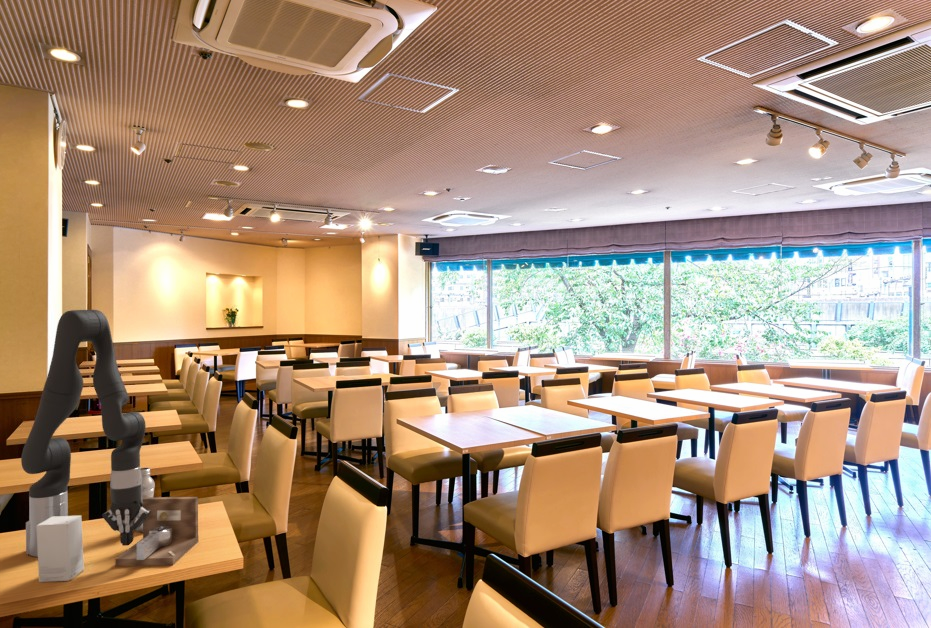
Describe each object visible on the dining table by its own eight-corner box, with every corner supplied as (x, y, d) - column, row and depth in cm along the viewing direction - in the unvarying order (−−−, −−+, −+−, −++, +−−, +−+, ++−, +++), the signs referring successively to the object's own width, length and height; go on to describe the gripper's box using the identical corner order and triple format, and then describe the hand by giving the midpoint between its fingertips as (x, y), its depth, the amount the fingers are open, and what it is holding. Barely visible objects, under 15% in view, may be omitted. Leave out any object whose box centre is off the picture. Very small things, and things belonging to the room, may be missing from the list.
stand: (115, 565, 158) (115, 516, 157) (146, 542, 174) (145, 497, 173) (173, 565, 158) (172, 515, 158) (198, 541, 174) (198, 496, 174)
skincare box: (84, 570, 155) (84, 514, 155) (68, 582, 148) (67, 523, 148) (53, 571, 154) (53, 515, 154) (35, 583, 148) (35, 524, 148)
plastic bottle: (145, 534, 180) (145, 472, 179) (127, 532, 181) (127, 471, 181) (160, 526, 186) (159, 466, 186) (142, 525, 187) (142, 465, 187)
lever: (155, 539, 170) (155, 522, 170) (175, 539, 170) (175, 522, 170) (129, 560, 156) (129, 542, 156) (151, 559, 156) (151, 541, 156)
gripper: (94, 488, 155) (95, 550, 155) (142, 487, 156) (143, 549, 156) (110, 480, 163) (111, 539, 163) (156, 479, 163) (157, 538, 163)
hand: (127, 544), depth 159 cm, fingers closed
